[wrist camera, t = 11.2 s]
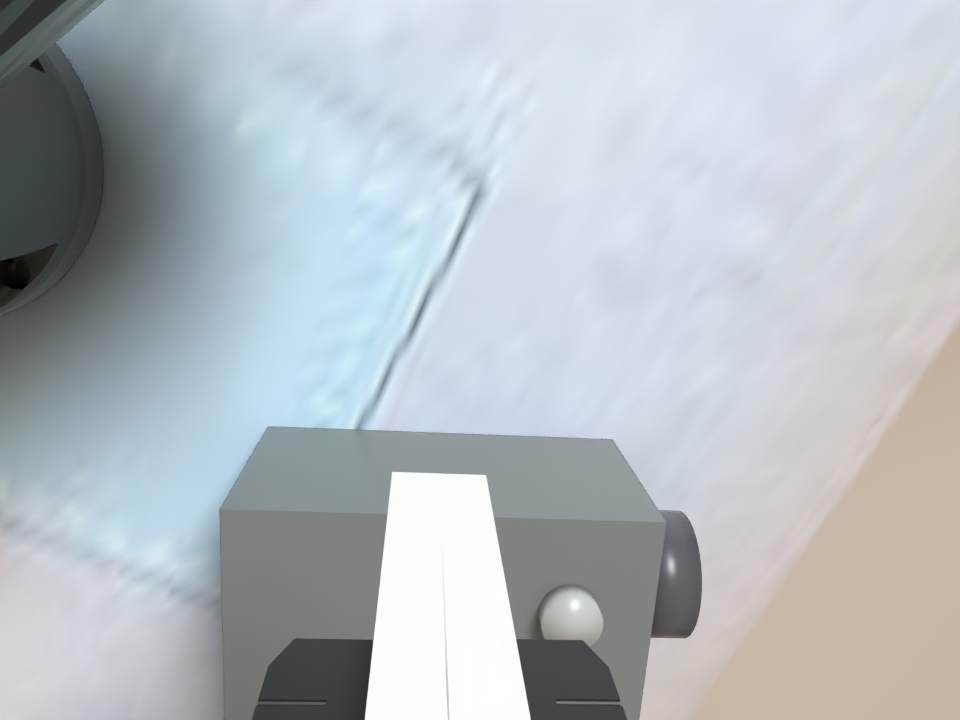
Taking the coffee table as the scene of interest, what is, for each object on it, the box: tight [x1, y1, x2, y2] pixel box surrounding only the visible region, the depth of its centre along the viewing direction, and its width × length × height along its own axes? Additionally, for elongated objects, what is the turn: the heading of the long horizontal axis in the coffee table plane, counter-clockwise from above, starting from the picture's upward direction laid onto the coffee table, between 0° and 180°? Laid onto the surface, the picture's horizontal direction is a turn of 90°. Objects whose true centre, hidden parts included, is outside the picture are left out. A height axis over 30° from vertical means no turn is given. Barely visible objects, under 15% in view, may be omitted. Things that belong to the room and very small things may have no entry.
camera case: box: [220, 426, 702, 720], centre depth 35 cm, size 19×12×10 cm, turn 86°
